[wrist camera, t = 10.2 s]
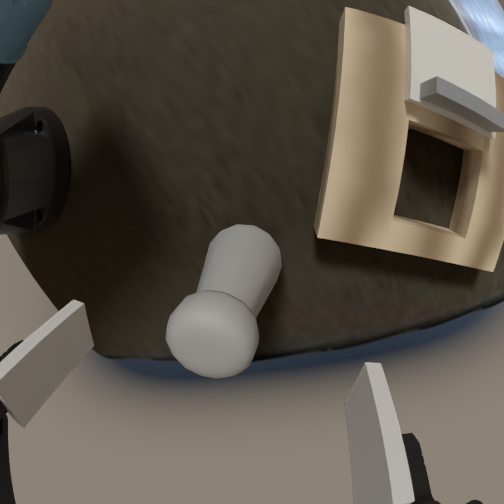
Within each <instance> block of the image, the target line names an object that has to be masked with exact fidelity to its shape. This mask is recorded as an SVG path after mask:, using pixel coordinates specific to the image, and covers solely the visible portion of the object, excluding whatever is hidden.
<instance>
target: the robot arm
mask: <svg viewBox="0 0 504 504" xmlns="http://www.w3.org/2000/svg"><path fill="white" fill-rule="evenodd" d="M52 1H53V0H0V93H1V91H2V89H3V87H4V85H5V83H6V81H7V79H8V77H9V75H10V73H11V71H12V69H13V67H14V66H15V64H16V62H17V61H18V60H19V59H20V58H21V57H22V55H23V54H24V53H25V51H26V48H27V43H28V42H29V40H30V38H31V37H32V35H33V33H34V32H35V30H36V29H37V27H38V26H39V24H40V23H41V21H42V20H43V18H44V17H45V15H46V14H47V12H48V11H49V9H50V7H51V4H52ZM68 181H69V150H68V143H67V138H66V134H65V131H64V128H63V126H62V124H61V122H60V120H59V118H58V117H57V115H56V114H55V113H54V112H53V111H51V110H50V109H48V108H45V107H25V108H22V109H19V110H17V111H15V112H12V113H10V114H8V115H6V116H3V117H1V118H0V234H32V233H35V232H37V231H39V230H42V229H44V228H46V227H48V226H49V225H51V224H52V223H53V222H54V221H55V219H56V218H57V216H58V215H59V213H60V211H61V209H62V206H63V204H64V201H65V197H66V193H67V188H68ZM93 347H94V343H93V339H92V336H91V332H90V327H89V323H88V319H87V314H86V310H85V305H84V303H82V302H79V301H76V300H72V301H71V302H70V303H68V304H67V305H66V306H65V307H63V308H62V309H61V310H60V311H58V312H57V313H56V314H55V315H54V316H52V317H51V318H50V319H49V320H48V321H46V322H45V323H44V324H43V325H42V326H40V327H39V328H38V329H37V330H36V331H34V332H33V333H32V334H31V335H30V336H29V337H27V338H26V339H25V340H22V341H19V342H17V343H16V344H14V345H12V346H11V347H10V348H9V349H8V350H7V352H5V353H4V354H3V355H2V357H1V356H0V504H16V503H15V499H14V493H13V487H12V481H11V473H10V463H9V450H8V418H7V415H6V413H7V412H9V414H10V415H11V416H12V418H13V419H14V420H15V421H16V422H17V423H18V424H20V425H21V426H22V427H23V428H25V426H26V425H27V424H28V422H29V421H30V420H31V419H32V417H33V416H34V415H35V414H36V413H37V411H38V410H39V409H40V408H41V406H42V405H43V404H44V403H45V402H46V400H47V399H48V398H49V397H50V395H51V394H52V393H53V392H54V391H55V389H57V387H58V386H59V385H60V384H61V383H62V381H63V380H64V379H65V378H66V377H67V376H68V374H69V373H70V372H71V371H72V370H73V369H74V368H75V367H76V365H77V364H78V363H79V362H80V361H81V360H82V359H83V358H84V357H85V356H86V354H87V353H88V352H89V351H90V350H91V349H92V348H93ZM344 404H345V412H346V420H347V428H348V438H349V449H350V461H351V474H352V493H353V504H440V503H439V502H438V501H435V500H434V499H433V497H432V494H431V490H430V485H429V480H428V476H427V471H426V467H425V465H424V459H423V456H422V451H421V448H420V444H419V442H418V440H417V439H416V438H415V436H414V435H413V433H408V434H401V431H400V427H399V423H398V420H397V415H396V412H395V408H394V405H393V402H392V398H391V394H390V391H389V388H388V385H387V381H386V378H385V375H384V372H383V369H382V366H381V363H368V362H367V363H366V362H365V364H364V366H363V368H362V370H361V372H360V374H359V376H358V378H357V380H356V382H355V384H354V386H353V388H352V389H351V391H350V393H349V395H348V397H347V398H346V400H345V402H344ZM467 504H483V503H482V502H481V501H478V500H472V501H470V502H468V503H467Z"/></svg>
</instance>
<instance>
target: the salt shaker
mask: <svg viewBox="0 0 504 504" xmlns="http://www.w3.org/2000/svg"><path fill="white" fill-rule="evenodd" d="M281 267H282V262H281V255H280V249H279V247H278V245H277V244H276V243H275V241H274V240H273V238H272V237H271V236H270V234H269V233H267V232H265V231H263V230H261V229H260V228H258V227H256V226H253V225H240V224H237V225H234V226H232V227H229V228H227V229H224V230H222V231H220V232H219V233H218V234H217V236H216V237H215V238H214V239H213V240H212V242H211V243H210V245H209V248H208V252H207V256H206V260H205V264H204V268H203V271H202V274H201V278H200V281H199V284H198V288H197V291H196V293H194V294H191V295H189V296H186V298H185V299H184V300H183V301H182V302H181V303H180V304H179V306H178V307H177V308H176V309H175V310H174V312H173V313H172V314H171V315H170V318H169V321H168V324H167V331H166V341H167V343H168V346H169V348H170V350H171V352H172V354H173V355H174V357H175V358H176V359H177V360H178V361H179V362H180V363H181V364H182V365H183V366H184V367H185V368H187V369H189V370H191V371H193V372H195V373H197V374H199V375H201V376H207V377H213V378H223V377H228V376H234V375H237V374H239V373H240V372H242V371H243V370H244V369H246V368H247V367H249V365H250V363H251V361H252V359H253V357H254V354H255V352H256V349H257V346H258V343H259V332H258V327H257V322H256V317H257V315H258V314H259V312H260V310H261V308H262V307H263V305H264V303H265V301H266V299H267V298H268V296H269V294H270V292H271V291H272V289H273V287H274V285H275V283H276V282H277V279H278V276H279V273H280V270H281Z"/></svg>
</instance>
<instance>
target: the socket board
mask: <svg viewBox="0 0 504 504" xmlns="http://www.w3.org/2000/svg"><path fill="white" fill-rule="evenodd" d="M405 84H406V28H405V25H404V24H401V23H398V22H395V21H392V20H390V19H387V18H384V17H380V16H377V15H374V14H370V13H367V12H363V11H360V10H356V9H352V8H348V7H345V9H344V12H343V15H342V17H341V20H340V22H339V38H338V52H337V65H336V76H335V86H334V95H333V104H332V113H331V121H330V129H329V136H328V143H327V150H326V157H325V164H324V170H323V177H322V183H321V189H320V195H319V200H318V206H317V212H316V217H315V222H314V229H315V232H316V235H317V238H323V239H328V240H334V241H340V242H345V243H351V244H357V245H362V246H368V247H373V248H378V249H384V250H389V251H394V252H399V253H405V254H410V255H415V256H420V257H425V258H430V259H435V260H439V261H444V262H449V263H454V264H458V265H463V266H468V267H472V268H477V269H481V270H486V271H490V272H493V271H494V268H495V265H496V262H497V259H498V256H499V253H500V250H501V247H502V243H503V240H504V132H496V133H495V138H487V137H485V136H483V135H481V134H480V133H478V132H476V131H474V130H472V129H470V128H468V127H466V126H464V125H462V124H460V123H458V122H456V121H454V120H451V119H449V118H447V117H445V116H442V115H440V114H438V113H435V112H433V111H431V110H428V109H426V108H423V107H420V106H418V105H415V104H412V103H410V102H407V101H405ZM495 85H496V109H498V110H499V111H501V112H502V113H504V78H503V77H501V76H500V75H498V74H497V73H495ZM408 128H410V129H413V130H416V131H419V132H421V133H424V134H427V135H430V136H432V137H435V138H437V139H440V140H442V141H445V142H447V143H450V144H452V145H454V146H456V147H459V148H461V149H463V150H464V151H463V159H462V166H461V173H460V179H459V184H458V190H457V195H456V200H455V204H454V209H453V213H452V217H451V221H450V225H449V229H447V228H444V227H440V226H436V225H433V224H429V223H425V222H421V221H417V220H413V219H409V218H405V217H401V216H397V215H393V214H394V210H395V205H396V200H397V196H398V191H399V185H400V180H401V174H402V168H403V162H404V156H405V149H406V141H407V133H408Z"/></svg>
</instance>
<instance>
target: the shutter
mask: <svg viewBox="0 0 504 504" xmlns="http://www.w3.org/2000/svg"><path fill="white" fill-rule="evenodd" d="M404 12H405V28H406V84H405V101H407V102H410V103H412V104H415V105H418V106H420V107H423V108H426V109H428V110H431V111H433V112H435V113H438V114H440V115H442V116H445V117H447V118H449V119H451V120H454V121H456V122H458V123H460V124H462V125H464V126H466V127H468V128H470V129H472V130H474V131H476V132H478V133H480V134H481V135H483V136H485V137H487V138H495V133H496V132H504V113H502V112H501V111H499V110H498V109H496V85H495V71H494V61H493V53H492V50H491V49H489V48H488V47H486V46H485V45H483V44H482V43H480V42H479V41H477V40H475V39H474V38H472V37H471V36H469V35H467V34H466V33H464V32H462V31H460V30H458V29H457V28H455V27H453V26H451V25H449V24H447V23H445V22H443V21H441V20H439V19H437V18H435V17H433V16H431V15H429V14H427V13H424V12H422V11H420V10H418V9H415V8H413V7H410V6H408V7H407V8H406V10H405V11H404Z"/></svg>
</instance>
